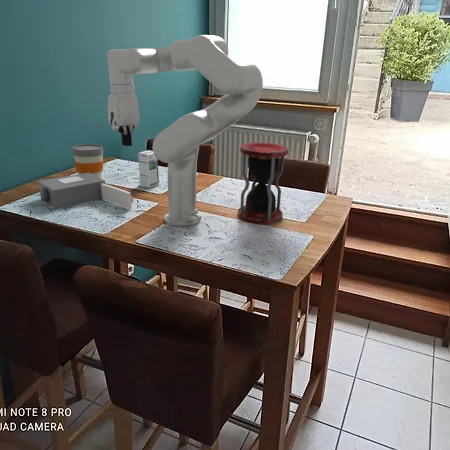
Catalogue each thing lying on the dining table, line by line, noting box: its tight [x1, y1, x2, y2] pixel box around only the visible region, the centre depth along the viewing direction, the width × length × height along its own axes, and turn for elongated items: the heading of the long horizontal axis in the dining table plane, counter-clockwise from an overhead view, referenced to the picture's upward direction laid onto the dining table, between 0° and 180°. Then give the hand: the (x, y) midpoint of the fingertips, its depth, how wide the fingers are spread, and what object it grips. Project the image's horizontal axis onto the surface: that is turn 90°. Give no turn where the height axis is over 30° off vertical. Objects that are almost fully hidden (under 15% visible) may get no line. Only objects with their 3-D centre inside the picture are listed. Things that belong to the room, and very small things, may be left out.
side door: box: [100, 183, 134, 210], centre depth 160 cm, size 2×17×6 cm, turn 51°
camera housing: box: [38, 173, 106, 210], centre depth 164 cm, size 14×21×7 cm, turn 132°
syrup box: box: [137, 149, 160, 189], centre depth 181 cm, size 6×6×14 cm
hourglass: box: [237, 141, 289, 225], centre depth 149 cm, size 16×16×25 cm
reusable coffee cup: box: [72, 143, 104, 179], centre depth 184 cm, size 13×12×15 cm
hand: (127, 145), depth 148 cm, fingers closed
